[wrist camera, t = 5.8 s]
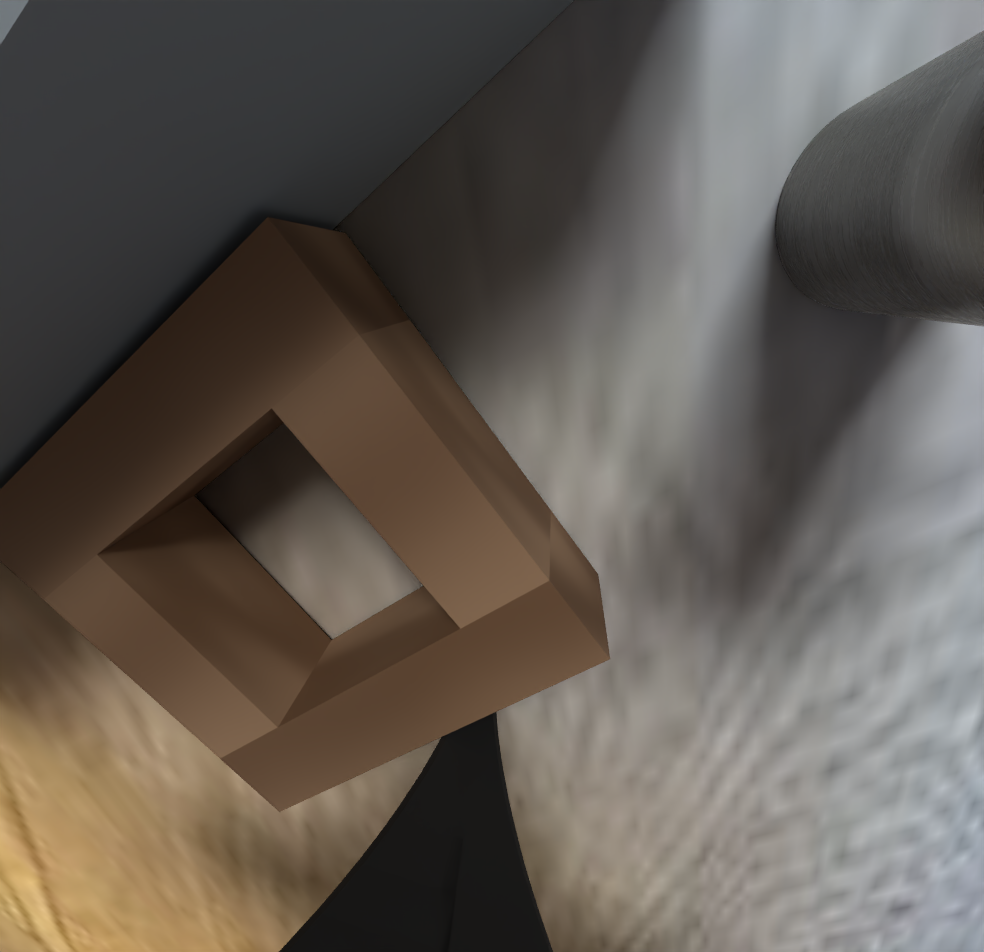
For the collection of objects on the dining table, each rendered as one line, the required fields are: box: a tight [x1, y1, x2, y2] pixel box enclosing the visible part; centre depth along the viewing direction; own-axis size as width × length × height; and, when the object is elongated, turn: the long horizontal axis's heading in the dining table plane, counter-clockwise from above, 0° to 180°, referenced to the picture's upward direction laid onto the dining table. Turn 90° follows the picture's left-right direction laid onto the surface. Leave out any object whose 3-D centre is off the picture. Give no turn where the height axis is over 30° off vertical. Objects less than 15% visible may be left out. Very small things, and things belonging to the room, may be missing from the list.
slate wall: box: [0, 0, 574, 489], centre depth 7 cm, size 2×20×6 cm, turn 127°
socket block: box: [0, 217, 610, 812], centre depth 10 cm, size 8×8×2 cm
